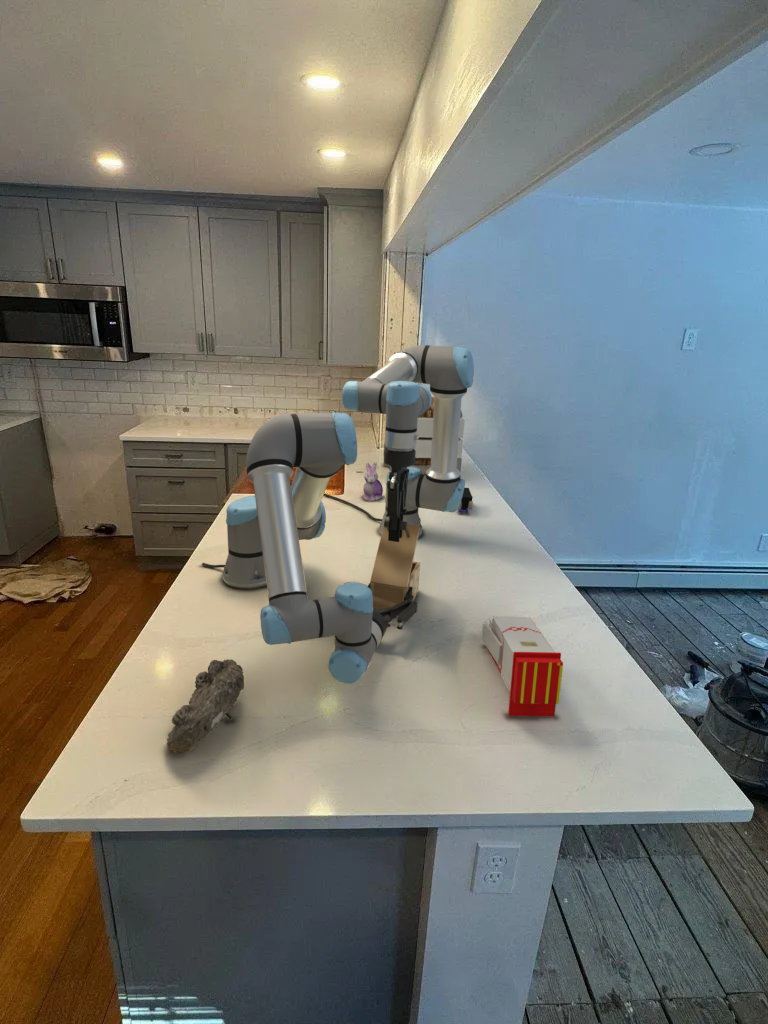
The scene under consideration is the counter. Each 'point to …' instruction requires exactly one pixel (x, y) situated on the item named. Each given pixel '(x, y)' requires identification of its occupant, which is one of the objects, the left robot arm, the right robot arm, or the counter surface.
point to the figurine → (372, 484)
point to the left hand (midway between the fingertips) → (391, 588)
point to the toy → (525, 665)
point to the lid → (395, 556)
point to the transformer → (430, 439)
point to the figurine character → (466, 501)
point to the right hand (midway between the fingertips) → (395, 538)
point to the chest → (395, 590)
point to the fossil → (206, 705)
